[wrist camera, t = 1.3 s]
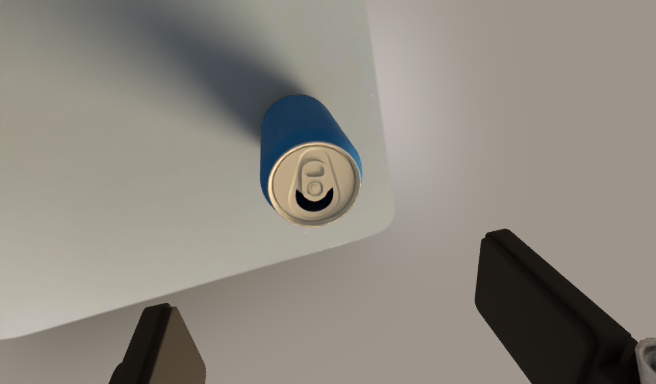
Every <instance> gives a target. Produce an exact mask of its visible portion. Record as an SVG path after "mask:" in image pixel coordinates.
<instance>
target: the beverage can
mask: <svg viewBox="0 0 656 384" xmlns="http://www.w3.org/2000/svg"><path fill="white" fill-rule="evenodd" d="M361 181H362V165H361V161H360V157H359V155H358V153H357V151H356V149H355V148H354V146H353V145H352V144H351V142H350V141H349V139H348V138H347V136H346V135H345V134H344V132H343V131H342V129H341V128H340V127H339V125H338V124H337V122H336V121H335V119H334V118H333V117H332V115H331V114H330V112H329V111H328V109H327V108H326V107H325V106H324V105H323V104H322V103H321V102H319V101H318V100H316V99H315V98H312V97H310V96H306V95H290V96H286V97H283V98H281V99H279V100H278V101H276V102H275V103H274V104H273V105H272V106H270V108H269V109H268V110H267V112H266V113H265V115H264V118H263V121H262V125H261V160H260V182H261V188H262V191H263V194H264V196H265V198H266V200H267V201H268V203H269V204H270V205H271V206H272V207H273V208H274V209H275V210H276V211H277V212H278V214H279V215H281V216H282V217H283V218H284V219H286V220H287V221H289V222H291V223H293V224H296V225H300V226H305V227H317V226H323V225H327V224H329V223H332V222H334V221H336V220H338V219H339V218H341V217H342V216H344V215H345V214H346V213H347V212H348V211H349V210H350V209H351V207H352V206H353V205H354V203H355V201H356V200H357V197H358V195H359V191H360V185H361Z"/></svg>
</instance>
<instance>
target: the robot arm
mask: <svg viewBox="0 0 656 384" xmlns="http://www.w3.org/2000/svg"><path fill="white" fill-rule="evenodd" d="M475 305H476V307H477V309H478V311H479V313H480V314H481V315H482V317H483V318H484V319H485V321H486V322H487V323H488V325H489V326H490V327H491V329H492V330H493V331H494V333H495V334H496V336H497V337H498V338H499V340H500V341H501V343H502V344H503V345H504V347H505V348H506V349H507V351H508V352H509V353H510V355H511V356H512V357H513V359H514V360H515V362H516V363H517V364H518V366H519V367H520V368H521V370H522V371H523V372H524V374H525V375H526V377H527V378H528V379H529V381H530V382H531V383H532V384H656V338H646V339H644V340H641V341H640V342H639V343H638V342H637V341H636V340H635V339H634V338H632V337H631V334H630V333H629V332H628V331H626V330H625V329H624V328H623V327H622V326H621V325H619V324H618V323H617V322H616V321H615V320H613V319H612V318H611V317H610V316H609V315H608V314H606V313H605V312H604V311H603V310H602V309H601V308H599V307H598V306H597V305H596V304H595V303H594V302H593V301H591V300H590V299H589V298H588V297H587V296H585V295H584V294H583V293H582V292H581V291H580V290H579V289H578V288H576V287H575V286H574V285H573V284H572V283H570V282H569V281H568V280H567V279H566V278H565V277H564V276H562V275H561V274H560V273H559V272H558V271H557V270H555V269H554V268H553V267H552V266H551V265H550V264H548V263H547V262H546V261H545V260H544V259H542V258H541V257H540V256H539V255H538V254H537V253H535V252H534V251H533V250H532V249H531V248H530V247H529V246H527V245H526V244H525V243H524V242H523V241H522V240H520V239H519V238H518V237H517V236H516V235H515V234H514V233H512V232H511V231H510V230H508V229H501V230H497V231H492V232H488V233H487V234H486V236H485V238H483V239H482V240H481V247H480V256H479V265H478V275H477V283H476V293H475ZM205 379H206V368H205V364H204V362H203V360H202V358H201V356H200V353H199V351H198V349H197V347H196V345H195V343H194V341H193V339H192V337H191V335H190V333H189V331H188V329H187V327H186V325H185V323H184V321H183V319H182V317H181V315H180V313H179V311H178V309H177V307H171V306H170V304H168V303H164V304H159V305H155V306H150V307H146V308H145V309H144V311H143V313H142V315H141V317H140V320H139V322H138V325H137V327H136V329H135V332H134V334H133V337H132V339H131V342H130V344H129V347H128V349H127V351H126V354H125V356H124V359H123V361H122V363H120V364H119V365H118V366H117V367H116V369H115V371H114V372H113V374H112V377H111V379H110V382H109V384H205Z"/></svg>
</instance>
